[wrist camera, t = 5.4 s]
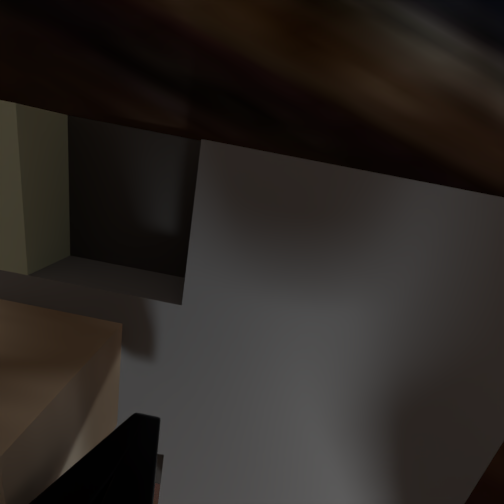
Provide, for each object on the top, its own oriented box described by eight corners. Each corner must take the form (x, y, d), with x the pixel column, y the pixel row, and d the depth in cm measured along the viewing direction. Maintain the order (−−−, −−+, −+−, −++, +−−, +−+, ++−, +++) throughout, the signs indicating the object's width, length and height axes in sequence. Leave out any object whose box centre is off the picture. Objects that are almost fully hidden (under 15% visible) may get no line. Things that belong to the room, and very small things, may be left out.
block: (122, 323, 8) (-1, 457, 5) (117, 423, 10) (16, 595, 6) (-10, 297, 8) (-242, 408, 5) (2, 400, 10) (-173, 556, 6)
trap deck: (557, 210, 9) (639, 223, 7) (392, 525, 13) (412, 586, 11) (-89, 84, 9) (-190, 63, 7) (-28, 441, 13) (-77, 488, 11)
